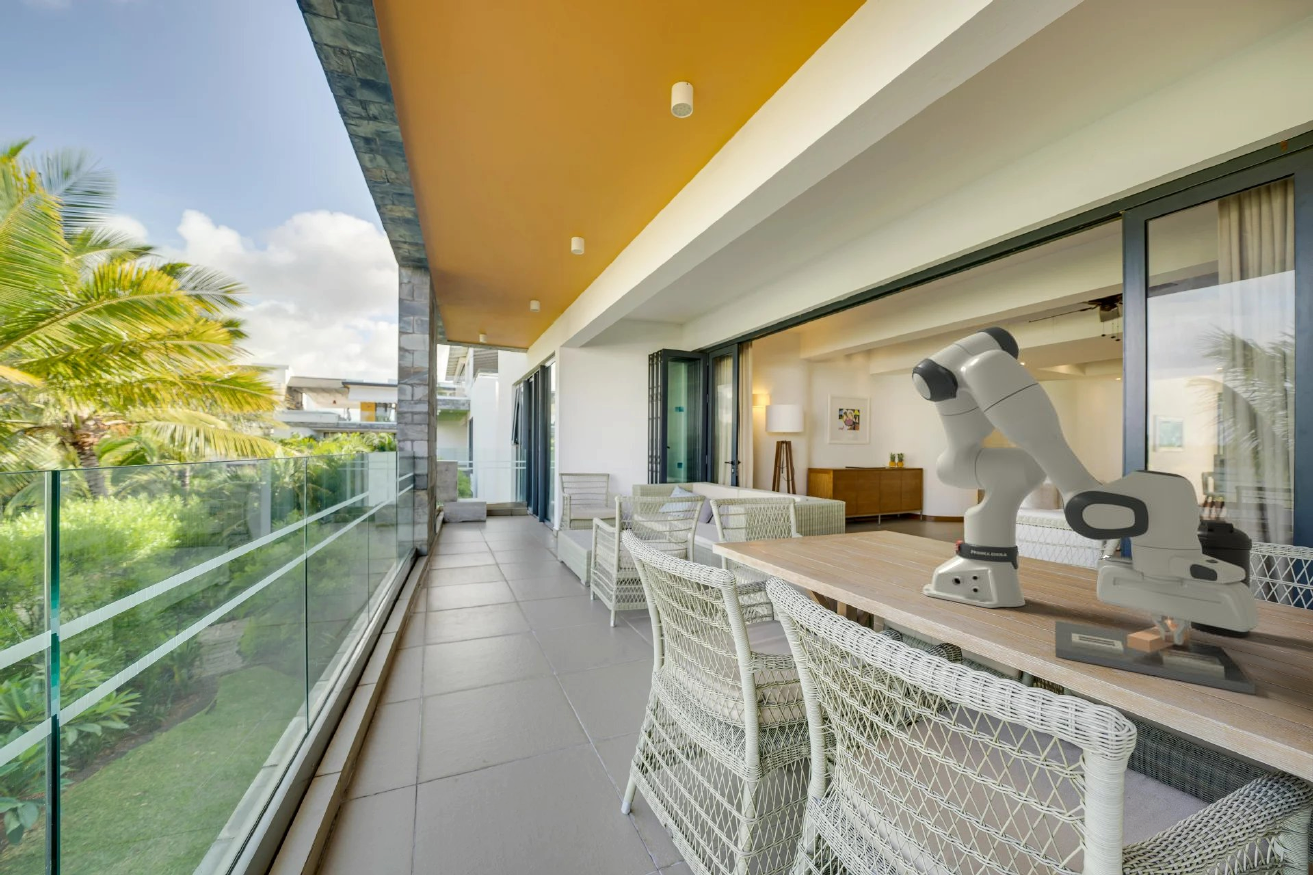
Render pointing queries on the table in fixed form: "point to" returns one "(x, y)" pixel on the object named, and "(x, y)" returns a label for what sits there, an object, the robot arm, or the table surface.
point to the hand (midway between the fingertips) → (1172, 642)
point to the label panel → (1151, 657)
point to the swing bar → (1154, 638)
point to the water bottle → (1225, 559)
